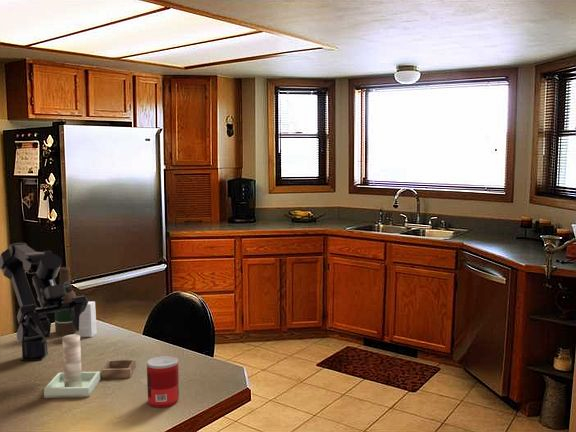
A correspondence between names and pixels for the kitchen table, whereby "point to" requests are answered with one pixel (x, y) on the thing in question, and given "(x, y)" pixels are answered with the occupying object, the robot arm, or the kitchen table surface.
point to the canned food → (162, 381)
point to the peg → (72, 361)
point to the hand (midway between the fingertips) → (61, 334)
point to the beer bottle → (64, 317)
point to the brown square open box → (119, 368)
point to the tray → (60, 391)
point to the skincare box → (87, 321)
